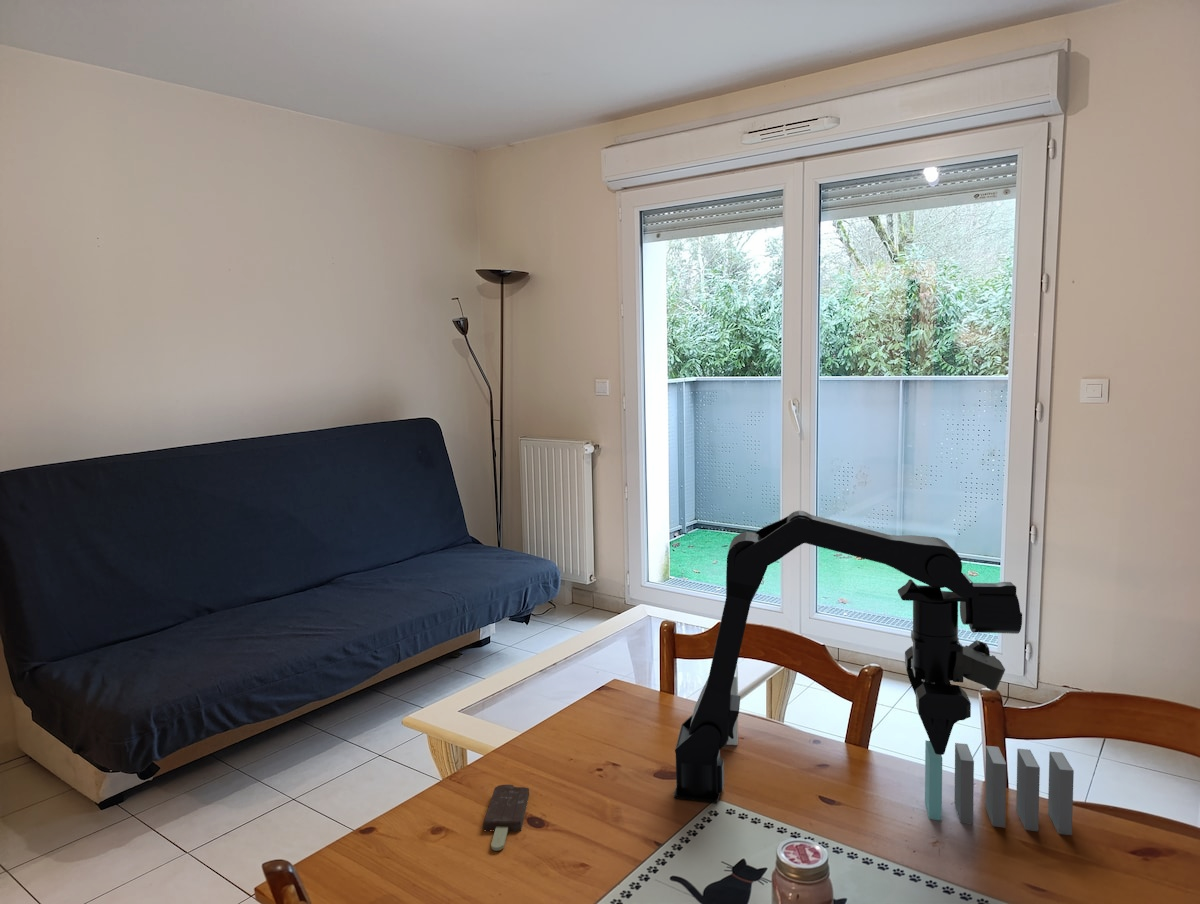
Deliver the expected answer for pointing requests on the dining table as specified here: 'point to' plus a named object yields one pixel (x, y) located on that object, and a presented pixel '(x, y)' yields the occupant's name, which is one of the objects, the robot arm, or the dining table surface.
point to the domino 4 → (1060, 792)
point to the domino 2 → (995, 786)
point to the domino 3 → (1027, 789)
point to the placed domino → (933, 782)
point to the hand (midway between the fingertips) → (934, 738)
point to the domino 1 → (964, 783)
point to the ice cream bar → (505, 813)
